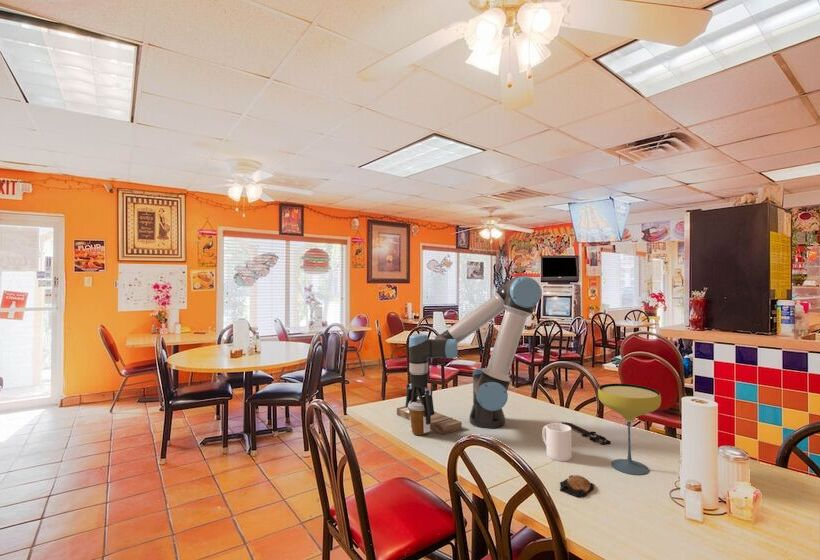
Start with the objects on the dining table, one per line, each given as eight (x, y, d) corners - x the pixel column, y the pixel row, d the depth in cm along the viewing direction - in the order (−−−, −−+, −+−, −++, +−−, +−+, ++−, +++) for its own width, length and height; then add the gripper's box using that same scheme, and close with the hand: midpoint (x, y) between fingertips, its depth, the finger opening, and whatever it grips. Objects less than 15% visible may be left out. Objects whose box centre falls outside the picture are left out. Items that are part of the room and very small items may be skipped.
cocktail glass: (598, 452, 146) (596, 381, 145) (656, 459, 139) (655, 385, 139) (600, 474, 129) (599, 395, 129) (667, 485, 122) (666, 400, 122)
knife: (558, 423, 176) (558, 420, 176) (571, 422, 177) (571, 419, 177) (598, 447, 151) (598, 443, 151) (613, 444, 153) (613, 441, 153)
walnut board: (461, 429, 170) (461, 421, 170) (443, 435, 164) (443, 427, 164) (414, 410, 195) (413, 403, 195) (396, 414, 189) (396, 407, 189)
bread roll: (569, 478, 128) (569, 466, 128) (597, 487, 122) (597, 475, 122) (555, 491, 120) (554, 479, 120) (584, 502, 115) (584, 488, 115)
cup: (558, 463, 137) (558, 433, 137) (534, 450, 148) (533, 422, 148) (577, 458, 141) (576, 429, 141) (551, 446, 152) (551, 418, 152)
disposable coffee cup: (432, 427, 171) (431, 399, 171) (431, 436, 161) (430, 406, 161) (409, 427, 172) (408, 398, 171) (407, 436, 162) (406, 405, 162)
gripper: (443, 375, 160) (444, 434, 160) (410, 367, 177) (411, 420, 177) (428, 378, 156) (429, 438, 156) (396, 369, 172) (397, 424, 172)
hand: (419, 428), depth 166 cm, fingers closed on disposable coffee cup, 8 cm apart
